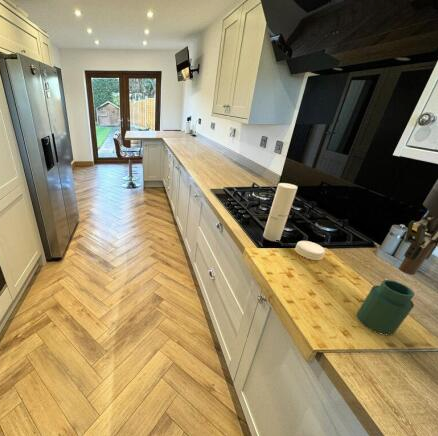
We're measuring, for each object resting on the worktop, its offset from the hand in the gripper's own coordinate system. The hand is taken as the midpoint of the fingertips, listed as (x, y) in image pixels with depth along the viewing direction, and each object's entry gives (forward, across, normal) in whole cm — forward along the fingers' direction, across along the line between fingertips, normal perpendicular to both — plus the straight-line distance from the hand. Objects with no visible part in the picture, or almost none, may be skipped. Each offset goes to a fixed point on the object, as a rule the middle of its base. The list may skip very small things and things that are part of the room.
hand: (415, 257), depth 57 cm
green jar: (+22, 0, 0) cm, 22 cm away
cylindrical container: (+22, +2, +47) cm, 52 cm away
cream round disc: (+22, +8, +33) cm, 41 cm away
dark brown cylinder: (+4, 0, 0) cm, 4 cm away
